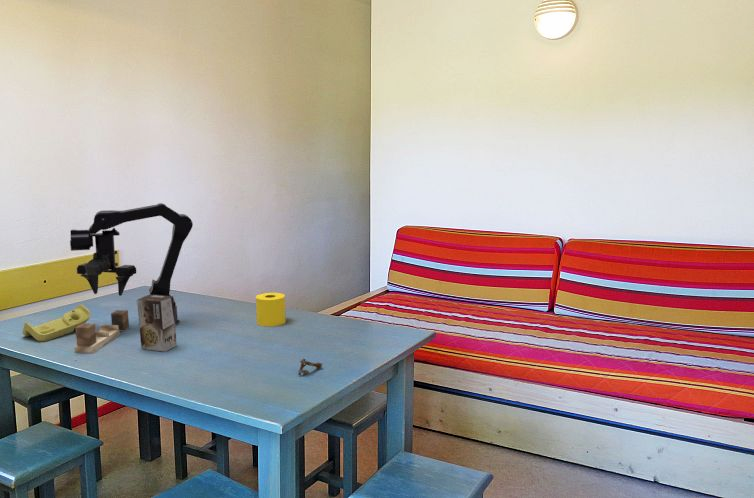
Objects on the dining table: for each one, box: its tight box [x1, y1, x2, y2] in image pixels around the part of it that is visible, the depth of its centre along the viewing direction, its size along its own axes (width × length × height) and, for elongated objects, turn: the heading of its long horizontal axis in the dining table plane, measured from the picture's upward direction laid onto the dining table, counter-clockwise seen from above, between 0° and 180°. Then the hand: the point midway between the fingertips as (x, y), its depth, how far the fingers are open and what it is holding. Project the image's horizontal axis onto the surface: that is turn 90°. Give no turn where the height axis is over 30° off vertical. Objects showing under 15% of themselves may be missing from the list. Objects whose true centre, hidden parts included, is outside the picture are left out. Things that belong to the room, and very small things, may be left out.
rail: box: [73, 323, 121, 354], centre depth 199 cm, size 6×17×8 cm, turn 176°
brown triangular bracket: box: [297, 358, 323, 376], centre depth 175 cm, size 2×8×4 cm, turn 139°
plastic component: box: [22, 304, 92, 342], centre depth 212 cm, size 20×7×10 cm
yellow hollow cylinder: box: [255, 292, 286, 327], centre depth 221 cm, size 10×10×9 cm
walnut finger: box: [110, 309, 130, 331], centre depth 215 cm, size 4×5×6 cm
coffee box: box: [136, 294, 178, 352], centre depth 195 cm, size 9×6×16 cm
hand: (108, 294), depth 211 cm, fingers open, 9 cm apart
